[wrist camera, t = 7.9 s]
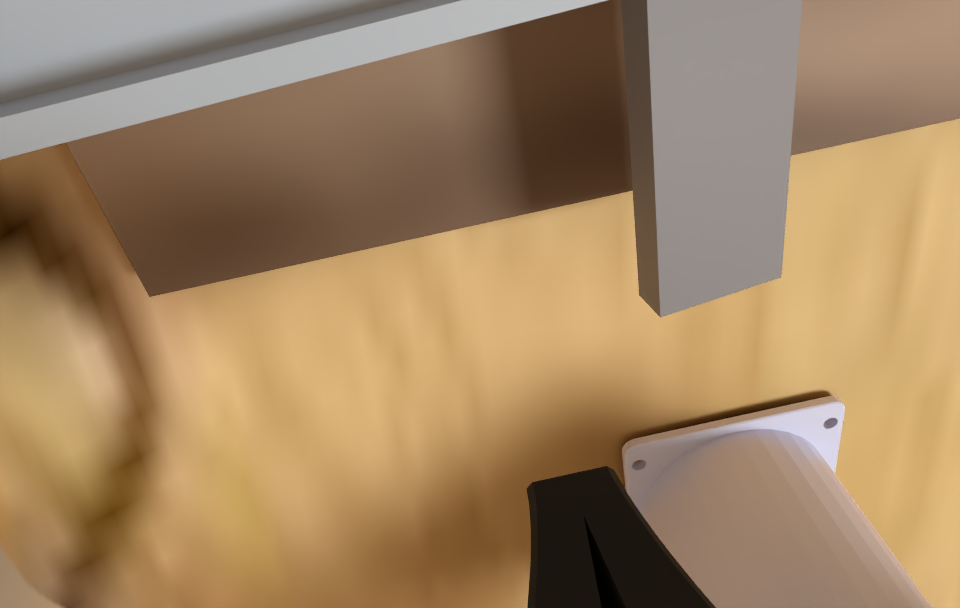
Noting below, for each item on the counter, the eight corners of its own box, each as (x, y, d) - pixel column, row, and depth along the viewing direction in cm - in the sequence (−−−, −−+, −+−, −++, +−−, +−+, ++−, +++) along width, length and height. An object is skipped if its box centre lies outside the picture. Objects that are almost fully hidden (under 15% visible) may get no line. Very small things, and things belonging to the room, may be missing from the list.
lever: (717, 229, 18) (826, 311, 14) (126, 417, 16) (92, 562, 12) (727, -517, 10) (954, -709, 7) (-367, -343, 8) (-773, -492, 5)
